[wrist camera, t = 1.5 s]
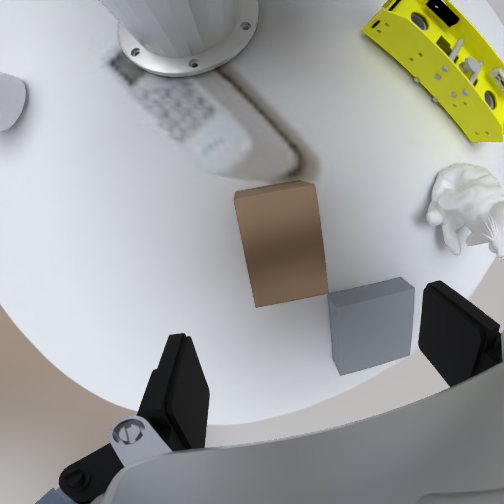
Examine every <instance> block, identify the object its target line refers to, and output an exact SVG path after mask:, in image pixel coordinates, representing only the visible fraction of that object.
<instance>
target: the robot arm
mask: <svg viewBox="0 0 504 504" xmlns="http://www.w3.org/2000/svg"><path fill="white" fill-rule="evenodd" d="M99 1H100V2H101V3H102V4H103V5H104V6H105V7H106V8H107V9H108V10H109V11H110V12H111V13H112V14H113V16H114V17H115V18H116V19H117V20H118V21H119V22H118V39H119V43H120V46H121V48H122V50H123V52H124V53H125V54H126V56H127V57H128V58H129V59H130V60H131V61H132V62H133V63H134V64H136V65H137V66H138V67H140V68H142V69H144V70H145V71H147V72H150V73H153V74H156V75H160V76H168V77H185V76H191V75H196V74H201V73H204V72H207V71H210V70H213V69H215V68H217V67H219V66H221V65H223V64H225V63H227V62H228V61H229V60H231V59H232V58H233V57H235V56H236V55H237V54H239V52H240V51H241V50H242V49H243V48H244V47H245V46H246V45H247V44H248V42H249V41H250V39H251V38H252V36H253V34H254V32H255V29H256V27H257V22H258V17H259V5H258V1H257V0H99ZM244 28H247V29H248V30H243V29H244ZM138 53H139V55H137V54H138ZM136 55H137V56H136ZM195 64H197V65H198V66H197V67H196V68H193V65H195ZM499 328H500V325H499V324H498V323H497V322H495V321H494V320H493V319H491V318H490V317H489V316H487V315H486V314H485V313H484V312H483V311H481V310H480V309H479V308H477V307H476V306H475V305H473V304H472V303H471V302H469V301H468V300H467V299H465V298H464V297H463V296H461V295H460V294H459V293H457V292H456V291H455V290H453V289H452V288H450V287H449V286H448V285H446V284H445V283H443V282H442V281H440V280H439V281H435V282H432V283H428V284H427V286H426V288H425V289H424V291H423V303H422V314H421V324H420V332H419V340H418V345H419V348H420V350H421V351H422V353H423V354H424V355H425V356H426V357H427V359H428V360H429V361H430V362H431V363H432V365H433V366H434V367H435V368H436V370H437V371H438V372H439V373H440V375H441V376H442V377H443V378H444V380H445V381H446V382H447V384H448V385H449V386H450V388H448V389H446V390H443V391H441V392H439V393H436V394H434V395H431V396H429V397H427V398H424V399H421V400H419V401H416V402H414V403H411V404H408V405H405V406H403V407H400V408H397V409H394V410H391V411H388V412H385V413H382V414H379V415H376V416H373V417H370V418H366V419H363V420H359V421H356V422H352V423H348V424H345V425H341V426H337V427H333V428H329V429H325V430H320V431H316V432H311V433H306V434H302V435H296V436H291V437H286V438H280V439H274V440H268V441H261V442H254V443H246V444H238V445H229V446H220V447H210V448H205V437H206V426H207V417H208V407H209V398H210V393H209V388H208V385H207V382H206V379H205V376H204V374H203V371H202V368H201V365H200V362H199V359H198V356H197V354H196V351H195V348H194V345H193V342H192V339H191V337H190V336H187V337H186V335H185V334H184V333H181V334H173V335H169V337H168V340H167V343H166V345H165V348H164V351H163V354H162V357H161V359H160V362H159V365H158V368H157V369H155V370H153V372H152V374H151V376H150V379H149V382H148V385H147V387H146V390H145V393H144V396H143V399H142V402H141V405H140V407H139V410H138V413H137V416H127V417H124V418H122V419H119V420H118V421H116V422H115V423H114V424H113V425H112V426H111V428H110V430H109V433H108V438H109V441H110V443H109V444H107V445H105V446H104V447H102V448H100V449H98V450H97V451H95V452H93V453H91V454H90V455H88V456H86V457H84V458H82V459H81V460H79V461H77V462H75V463H73V464H71V465H69V466H68V467H67V468H65V469H64V471H63V472H62V473H61V475H60V477H59V486H60V487H59V488H58V489H57V490H55V489H54V488H52V489H51V490H50V491H49V492H47V493H46V494H45V495H44V496H43V497H42V498H41V499H40V500H39V501H37V502H36V503H35V504H504V330H503V332H502V333H499Z"/></svg>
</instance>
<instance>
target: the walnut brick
mask: <svg viewBox="0 0 504 504" xmlns="http://www.w3.org/2000/svg"><path fill="white" fill-rule="evenodd" d="M234 204H235V209H236V214H237V219H238V224H239V229H240V234H241V238H242V243H243V248H244V253H245V258H246V263H247V268H248V273H249V278H250V283H251V288H252V293H253V297H254V302H255V307H256V308H257V307H263V306H268V305H273V304H278V303H284V302H289V301H294V300H299V299H304V298H308V297H313V296H318V295H323V294H327V293H329V292H328V282H327V272H326V263H325V254H324V246H323V238H322V230H321V223H320V215H319V208H318V202H317V195H316V188H315V185H314V184H310V183H307V182H303V181H300V180H298V181H292V182H286V183H280V184H274V185H268V186H263V187H257V188H252V189H247V190H241V191H236V192H235V196H234Z"/></svg>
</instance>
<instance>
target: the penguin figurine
mask: <svg viewBox="0 0 504 504" xmlns="http://www.w3.org/2000/svg"><path fill="white" fill-rule="evenodd" d="M426 219H427V221H428V222H429V224H430V225H432V226H437V225H440V224H441V223H442V230H443V236H444V241H445V244H446V246H447V247H448V248H449V249H450V251H451V252H452V253H453V254H454V255H457V256H458V255H460V253H461V245H460V241H459V239H458V237H457V235H456V233H455V231H456V230H457V229H458V228H461V227H462V226H464V225H466V226H467V227H468V228H469V229H470V230H471V231H472V233H471V234H470V235H469V236H468V237H467V239H466V244H467V245H468V246H472V245H478V244H483V243H487V242H489V249H490V251H491V252H493V253H496V254H497V255H498V256H500V257H501V258H500V260H501V259H502V257H504V190H503V189H502V187H501V185H500V183H499V182H498V181H497V179H496V178H495V177H494V176H493V175H492V174H491V173H490V171H489V170H487V169H486V168H483V167H480V166H477V165H472V164H468V163H458V164H455V165H453V166H451V167H449V168H448V169H446V170H442V171H440V173H439V174H438V175H437V179H436V182H435V184H434V186H433V189H432V201H431V203H430V206H429V208H428V212H427V214H426ZM503 259H504V258H503ZM500 260H499V261H500Z"/></svg>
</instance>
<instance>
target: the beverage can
mask: <svg viewBox="0 0 504 504" xmlns="http://www.w3.org/2000/svg"><path fill="white" fill-rule="evenodd" d="M25 96H26V91H25V85H24V83H23V81H22V80H21V79H20V78H18V77H15V76H12V75H8V74H5V73H1V72H0V131H4V130H7V129H8V128H10V127H11V126H12V125H13V124H14V123H15V122H16V121H17V119H18V117H19V116H20V114H21V112H22V109H23V106H24V103H25Z"/></svg>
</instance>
